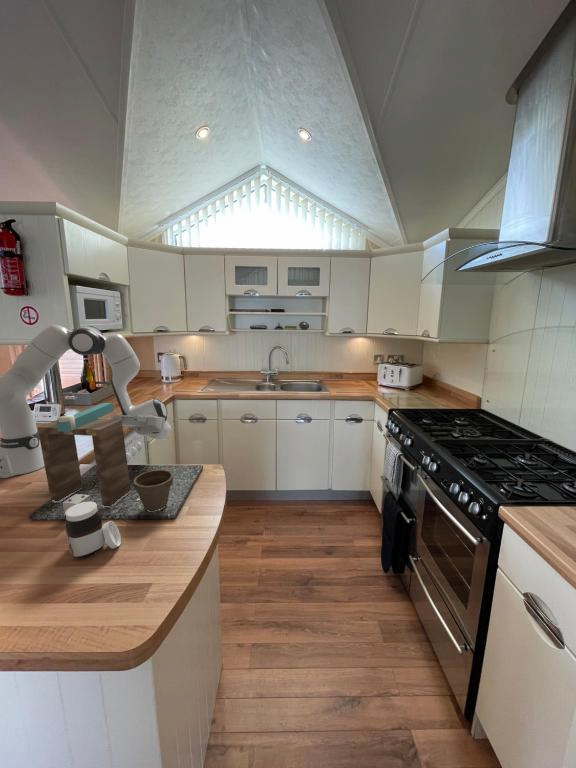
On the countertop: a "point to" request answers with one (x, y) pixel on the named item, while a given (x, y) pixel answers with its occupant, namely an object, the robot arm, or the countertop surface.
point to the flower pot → (154, 488)
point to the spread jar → (89, 531)
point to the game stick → (83, 417)
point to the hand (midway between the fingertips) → (124, 417)
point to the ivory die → (75, 501)
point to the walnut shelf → (66, 465)
